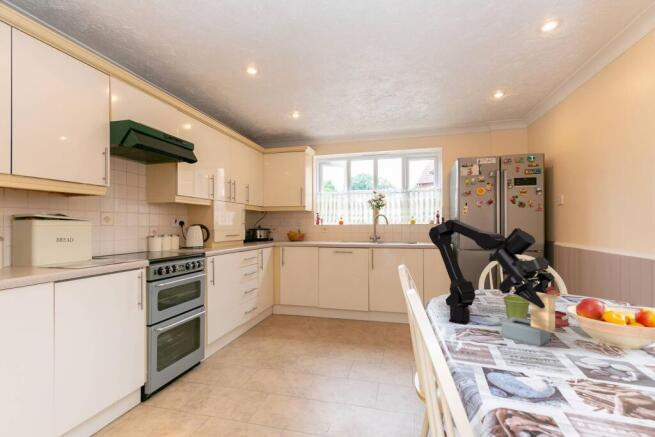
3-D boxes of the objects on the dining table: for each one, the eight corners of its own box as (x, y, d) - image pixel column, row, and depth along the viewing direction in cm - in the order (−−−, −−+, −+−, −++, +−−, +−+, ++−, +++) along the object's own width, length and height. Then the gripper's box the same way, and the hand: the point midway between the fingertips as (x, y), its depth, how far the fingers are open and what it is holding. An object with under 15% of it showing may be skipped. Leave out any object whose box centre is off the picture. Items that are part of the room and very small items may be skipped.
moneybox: (501, 336, 101) (501, 321, 101) (512, 330, 107) (512, 316, 107) (540, 346, 92) (540, 330, 93) (550, 339, 98) (549, 324, 98)
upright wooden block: (530, 326, 90) (530, 292, 91) (537, 324, 92) (537, 291, 92) (548, 331, 86) (548, 296, 86) (555, 330, 87) (554, 295, 87)
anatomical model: (571, 328, 107) (551, 286, 111) (546, 331, 112) (528, 291, 117) (577, 322, 113) (558, 283, 118) (554, 325, 119) (536, 288, 124)
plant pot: (536, 326, 112) (535, 302, 112) (508, 324, 113) (507, 301, 114) (525, 318, 121) (524, 296, 121) (499, 317, 123) (498, 295, 123)
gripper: (507, 249, 89) (547, 294, 79) (547, 246, 96) (589, 288, 86) (484, 271, 96) (518, 316, 86) (523, 268, 104) (559, 308, 93)
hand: (547, 306), depth 88 cm, fingers closed on upright wooden block, 3 cm apart
